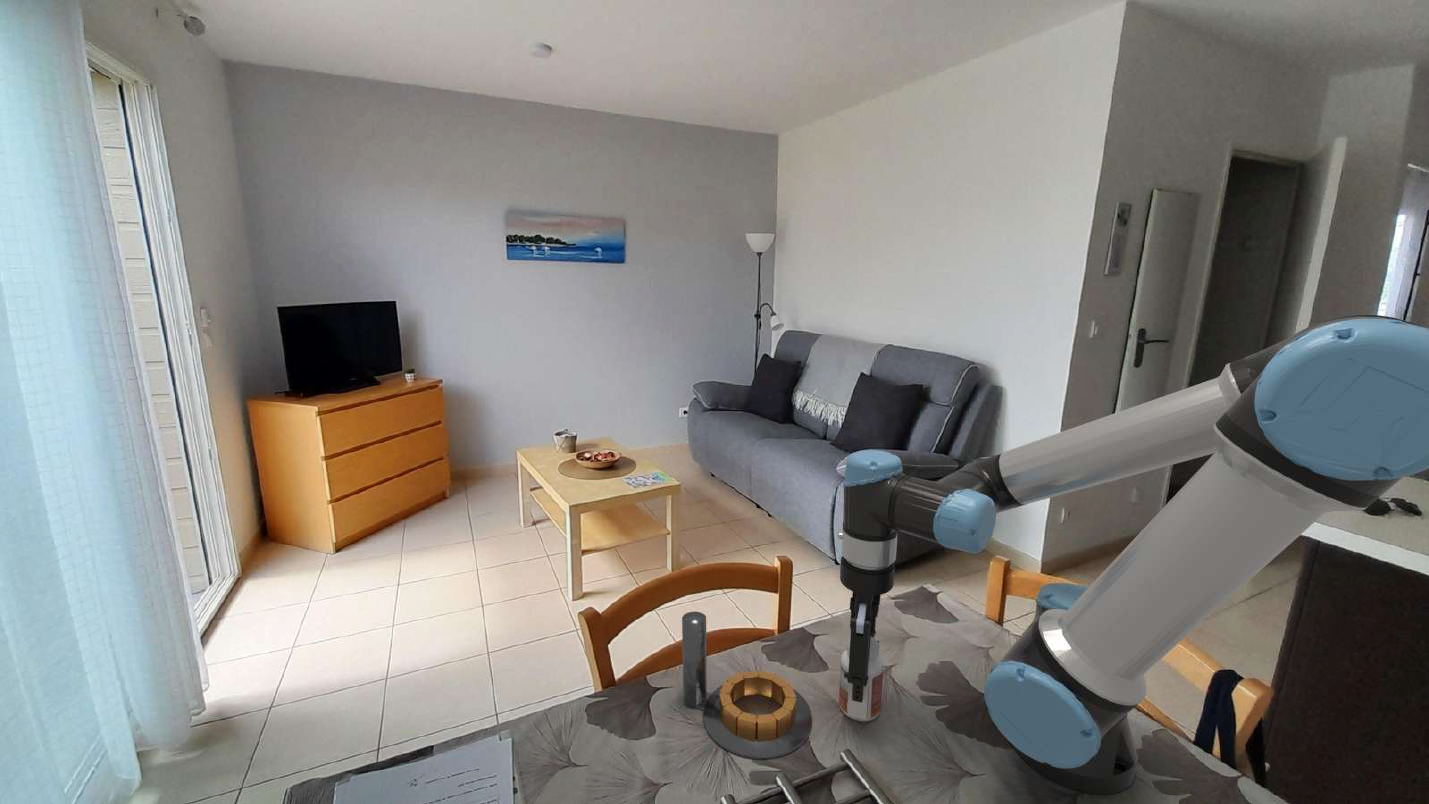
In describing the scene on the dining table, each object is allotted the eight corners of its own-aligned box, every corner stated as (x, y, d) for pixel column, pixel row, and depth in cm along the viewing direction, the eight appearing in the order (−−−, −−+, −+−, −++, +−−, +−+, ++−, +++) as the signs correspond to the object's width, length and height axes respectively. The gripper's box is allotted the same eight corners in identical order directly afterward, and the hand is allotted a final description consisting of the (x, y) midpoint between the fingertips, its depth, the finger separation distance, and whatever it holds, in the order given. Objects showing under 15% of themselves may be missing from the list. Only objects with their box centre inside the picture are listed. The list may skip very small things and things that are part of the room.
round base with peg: (821, 694, 92) (824, 613, 90) (798, 773, 78) (801, 679, 75) (703, 666, 99) (702, 590, 96) (662, 733, 85) (660, 646, 82)
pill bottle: (868, 691, 93) (872, 628, 91) (888, 719, 87) (892, 652, 85) (832, 697, 92) (834, 633, 90) (849, 726, 86) (852, 658, 84)
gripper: (850, 528, 95) (844, 657, 99) (829, 586, 77) (823, 739, 82) (899, 535, 92) (890, 667, 97) (889, 596, 74) (879, 754, 79)
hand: (859, 700), depth 89 cm, fingers closed on pill bottle, 6 cm apart
